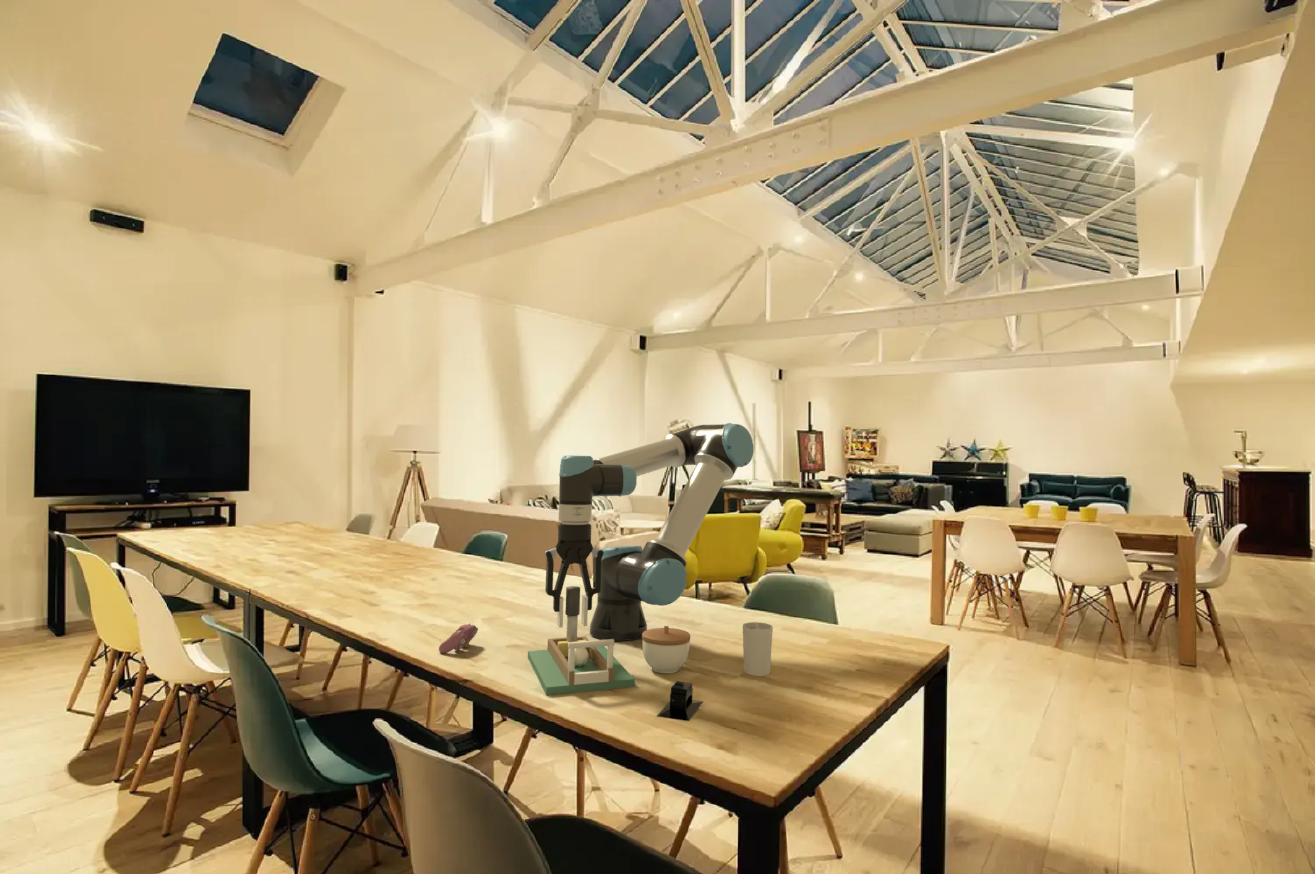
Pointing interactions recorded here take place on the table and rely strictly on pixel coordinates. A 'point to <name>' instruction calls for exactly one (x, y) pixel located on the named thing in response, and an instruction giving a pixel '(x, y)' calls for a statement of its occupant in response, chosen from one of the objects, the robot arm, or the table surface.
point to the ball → (580, 656)
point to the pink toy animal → (459, 638)
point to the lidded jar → (665, 648)
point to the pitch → (579, 668)
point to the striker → (571, 618)
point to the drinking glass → (757, 648)
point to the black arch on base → (680, 703)
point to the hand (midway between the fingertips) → (572, 625)
